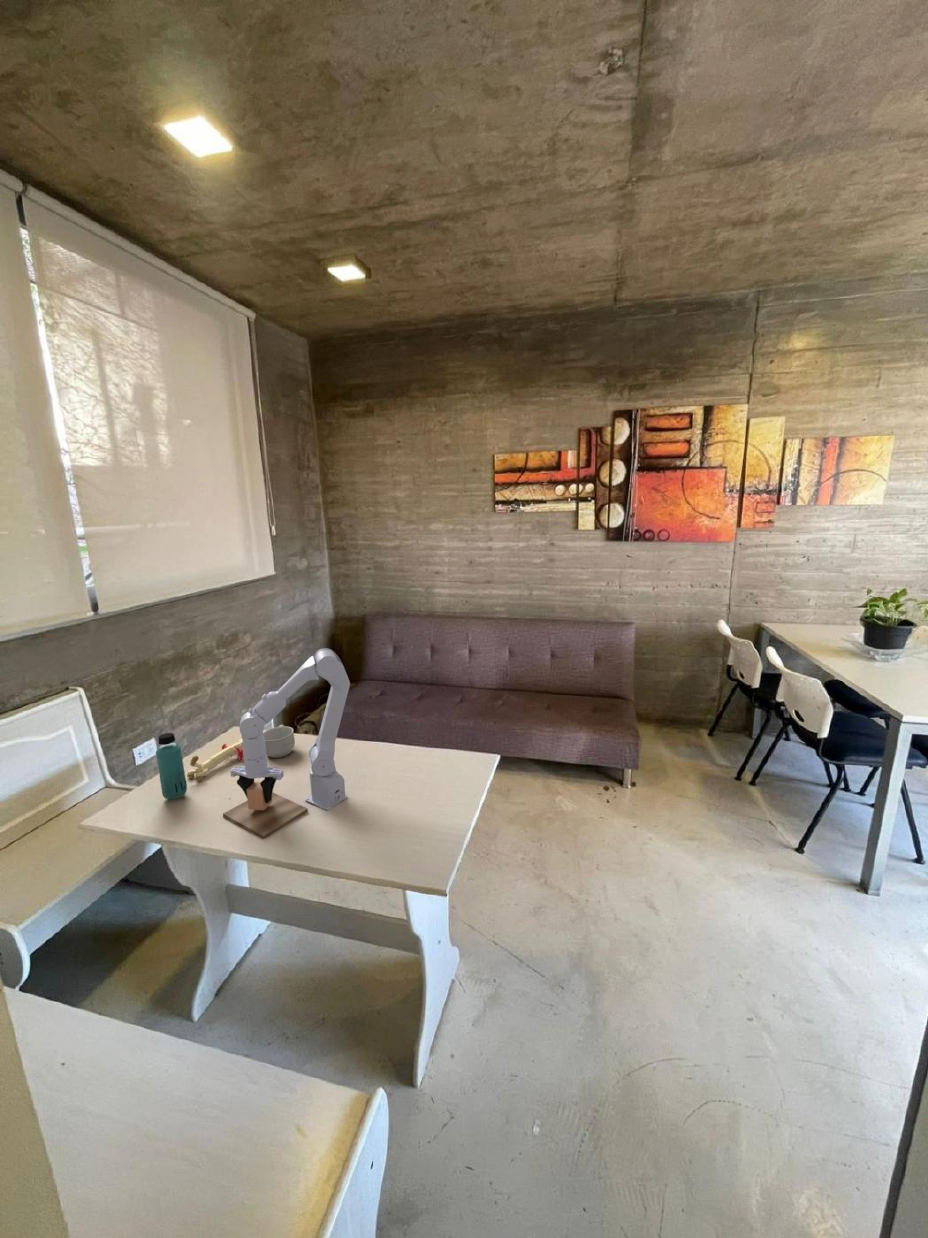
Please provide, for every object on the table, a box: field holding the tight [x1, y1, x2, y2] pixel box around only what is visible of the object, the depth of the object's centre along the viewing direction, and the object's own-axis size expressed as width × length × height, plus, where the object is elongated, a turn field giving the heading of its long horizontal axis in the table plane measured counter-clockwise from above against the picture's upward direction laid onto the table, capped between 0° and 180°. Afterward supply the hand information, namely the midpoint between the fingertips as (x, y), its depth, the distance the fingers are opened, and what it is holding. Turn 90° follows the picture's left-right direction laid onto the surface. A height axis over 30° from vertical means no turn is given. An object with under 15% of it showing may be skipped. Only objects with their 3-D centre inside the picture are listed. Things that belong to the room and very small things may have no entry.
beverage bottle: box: [155, 732, 188, 800], centre depth 142 cm, size 6×7×20 cm
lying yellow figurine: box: [186, 738, 244, 783], centre depth 164 cm, size 10×9×25 cm
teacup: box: [263, 724, 296, 759], centre depth 171 cm, size 14×11×8 cm
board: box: [222, 792, 309, 840], centre depth 135 cm, size 18×14×1 cm
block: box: [246, 780, 272, 810], centre depth 136 cm, size 4×4×6 cm
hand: (260, 800), depth 136 cm, fingers closed on block, 4 cm apart
